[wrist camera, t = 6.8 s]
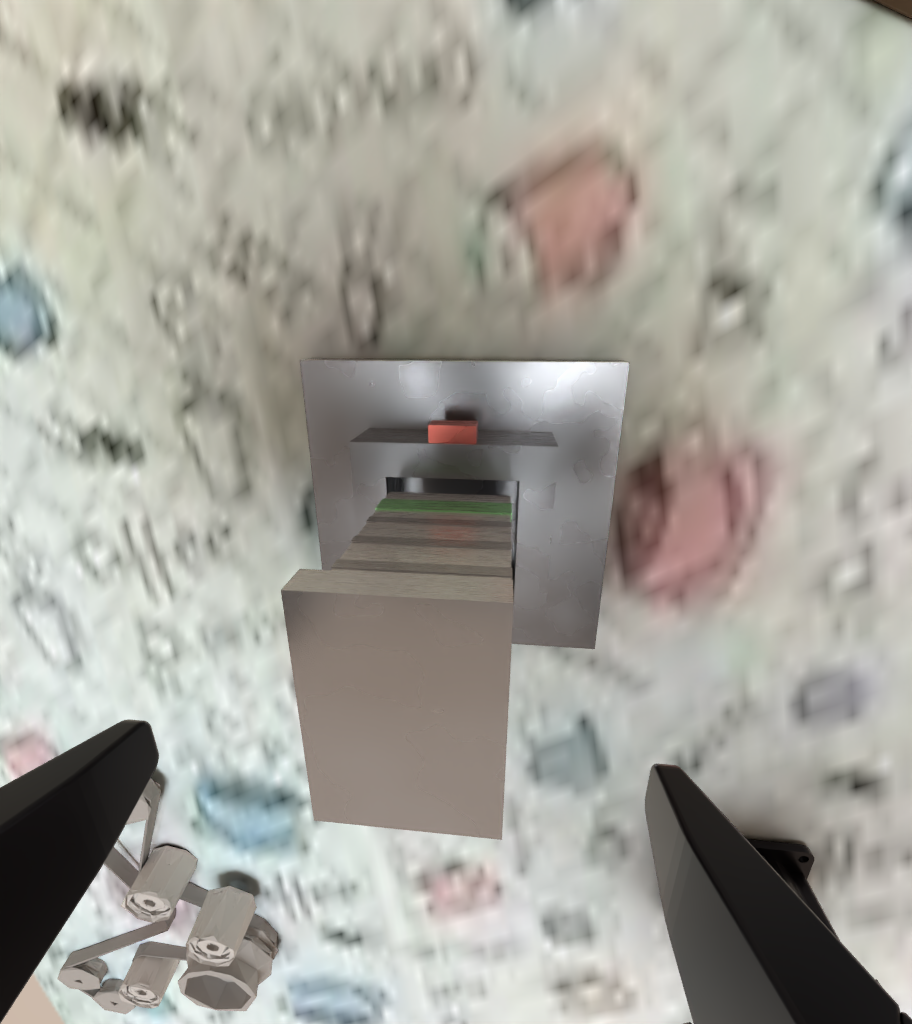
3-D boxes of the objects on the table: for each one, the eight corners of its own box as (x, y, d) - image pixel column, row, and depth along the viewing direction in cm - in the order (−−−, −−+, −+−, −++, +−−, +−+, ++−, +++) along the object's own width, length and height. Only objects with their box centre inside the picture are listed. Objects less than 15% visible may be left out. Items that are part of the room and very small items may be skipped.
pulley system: (325, 801, 29) (75, 734, 28) (297, 888, 25) (0, 813, 24) (261, 1006, 40) (79, 964, 39) (234, 1092, 36) (29, 1047, 35)
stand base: (623, 360, 18) (648, 367, 15) (590, 635, 22) (605, 688, 19) (310, 358, 19) (268, 364, 16) (336, 619, 23) (308, 667, 20)
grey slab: (512, 471, 15) (515, 602, 8) (505, 621, 17) (503, 840, 10) (387, 468, 16) (278, 589, 8) (395, 615, 18) (312, 820, 10)
